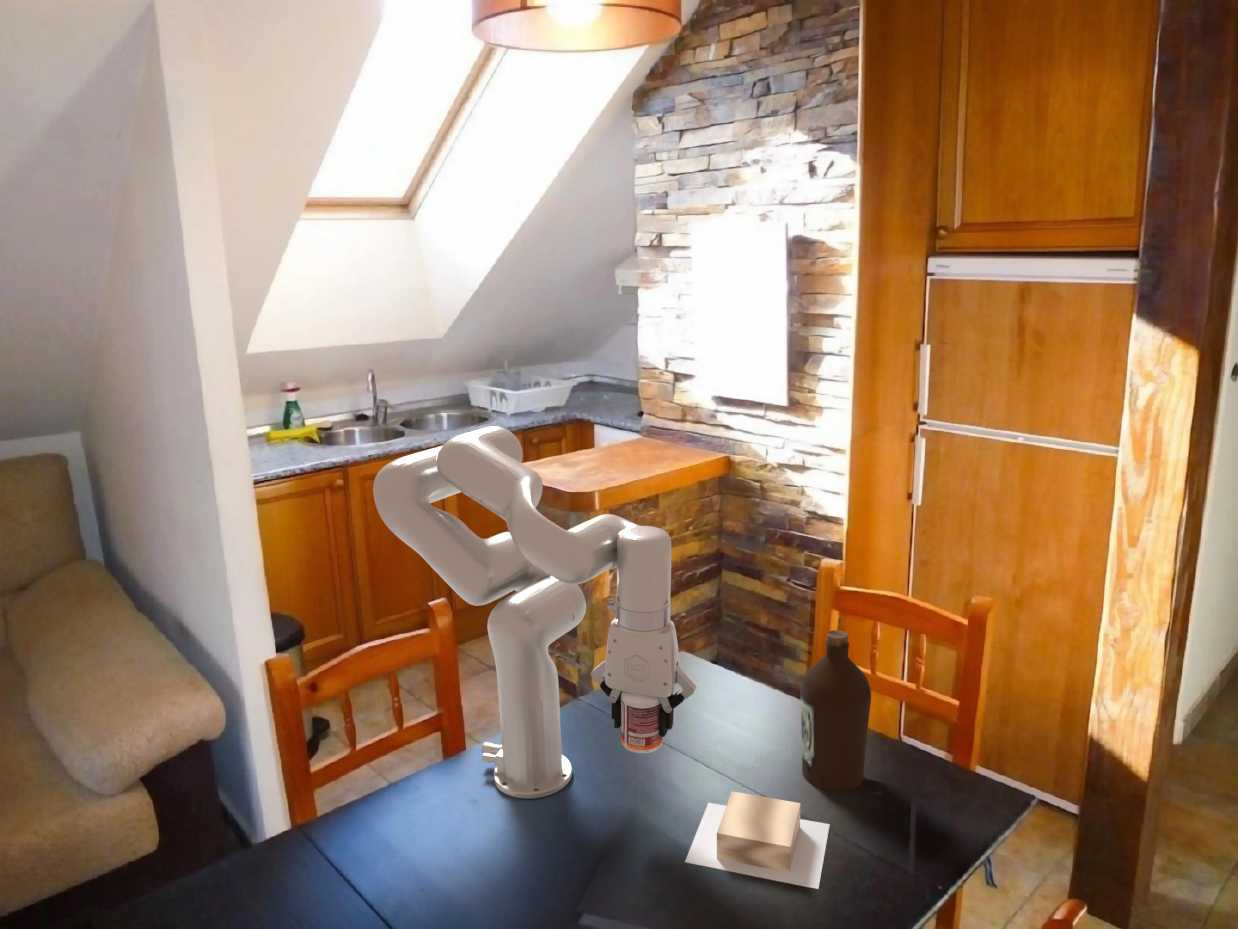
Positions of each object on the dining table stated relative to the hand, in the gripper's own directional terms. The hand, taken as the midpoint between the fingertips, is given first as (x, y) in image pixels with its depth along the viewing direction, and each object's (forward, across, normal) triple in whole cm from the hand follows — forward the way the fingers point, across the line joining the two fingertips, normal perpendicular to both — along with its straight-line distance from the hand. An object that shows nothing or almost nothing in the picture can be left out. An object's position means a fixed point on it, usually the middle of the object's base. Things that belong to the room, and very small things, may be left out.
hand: (642, 726), depth 131 cm
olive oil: (+15, +26, +18) cm, 35 cm away
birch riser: (+13, +18, -2) cm, 23 cm away
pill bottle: (+3, 0, 0) cm, 3 cm away
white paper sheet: (+14, +18, -2) cm, 23 cm away
